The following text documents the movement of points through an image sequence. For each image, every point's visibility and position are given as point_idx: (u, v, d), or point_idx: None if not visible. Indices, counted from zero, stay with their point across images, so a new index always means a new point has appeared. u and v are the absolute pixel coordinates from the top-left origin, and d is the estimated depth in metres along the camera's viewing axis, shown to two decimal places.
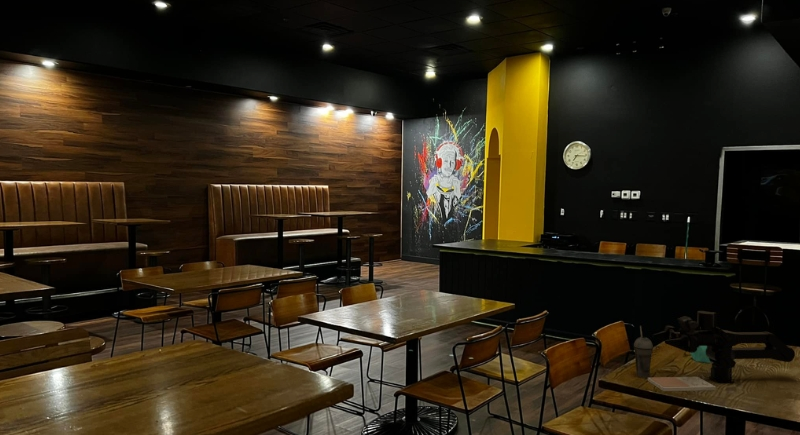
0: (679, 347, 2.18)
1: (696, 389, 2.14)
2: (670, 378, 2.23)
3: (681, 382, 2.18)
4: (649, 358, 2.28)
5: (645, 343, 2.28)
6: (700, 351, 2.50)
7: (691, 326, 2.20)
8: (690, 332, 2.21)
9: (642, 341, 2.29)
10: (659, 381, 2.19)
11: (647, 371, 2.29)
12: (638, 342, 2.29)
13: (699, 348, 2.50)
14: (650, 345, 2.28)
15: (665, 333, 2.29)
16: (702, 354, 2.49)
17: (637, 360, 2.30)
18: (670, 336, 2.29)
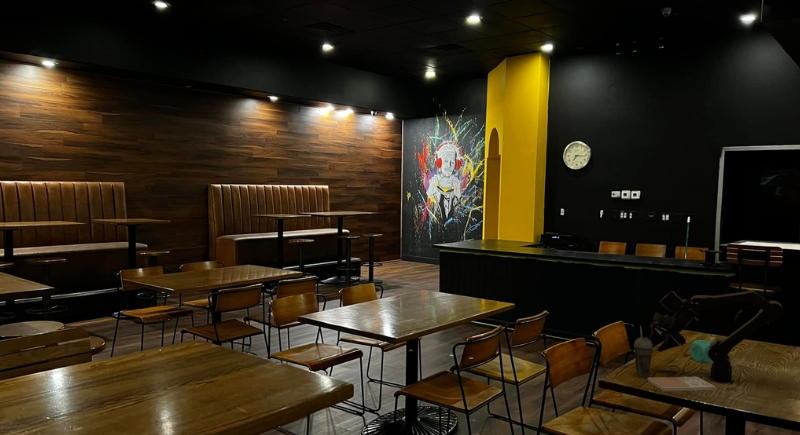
0: (671, 346, 2.25)
1: (696, 389, 2.14)
2: (670, 378, 2.23)
3: (681, 382, 2.18)
4: (649, 358, 2.28)
5: (645, 343, 2.28)
6: (700, 351, 2.50)
7: (666, 321, 2.27)
8: (670, 324, 2.28)
9: (642, 341, 2.29)
10: (659, 381, 2.19)
11: (647, 371, 2.29)
12: (638, 342, 2.29)
13: (699, 348, 2.50)
14: (650, 345, 2.28)
15: (654, 334, 2.36)
16: (702, 354, 2.49)
17: (637, 360, 2.30)
18: (659, 332, 2.37)
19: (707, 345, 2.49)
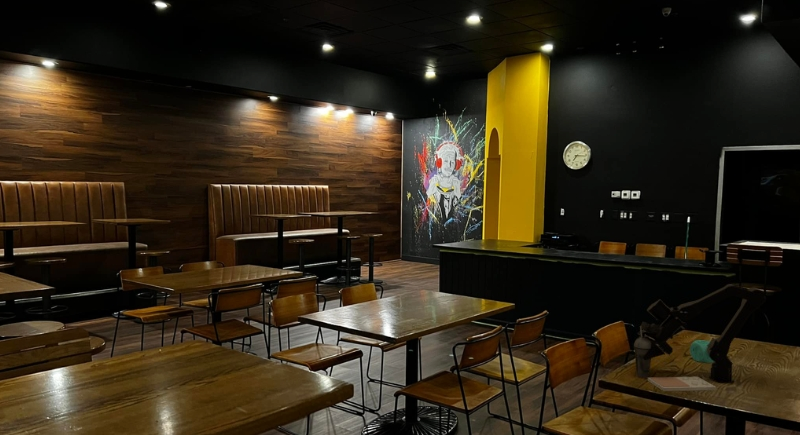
0: (657, 354, 2.26)
1: (696, 389, 2.14)
2: (670, 378, 2.23)
3: (681, 382, 2.18)
4: None
5: (645, 343, 2.28)
6: (700, 351, 2.50)
7: (653, 331, 2.26)
8: (657, 333, 2.28)
9: (642, 341, 2.29)
10: (659, 381, 2.19)
11: (647, 371, 2.29)
12: (638, 342, 2.29)
13: (699, 348, 2.50)
14: (650, 345, 2.28)
15: None
16: (702, 354, 2.49)
17: (637, 360, 2.30)
18: None
19: None
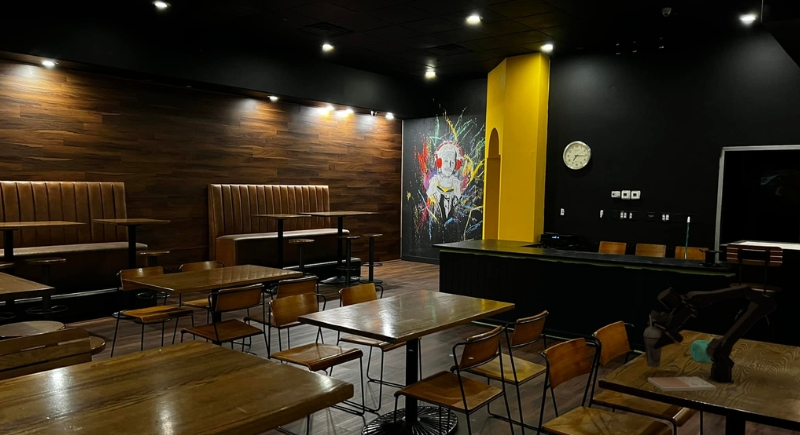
0: (667, 343, 2.21)
1: (696, 389, 2.14)
2: (670, 378, 2.23)
3: (681, 382, 2.18)
4: None
5: (654, 332, 2.23)
6: (700, 351, 2.50)
7: (663, 319, 2.22)
8: (667, 322, 2.24)
9: (652, 330, 2.24)
10: (659, 381, 2.19)
11: (657, 361, 2.24)
12: (648, 331, 2.25)
13: (699, 348, 2.50)
14: (660, 334, 2.24)
15: None
16: (702, 354, 2.49)
17: (647, 350, 2.26)
18: None
19: (707, 345, 2.49)
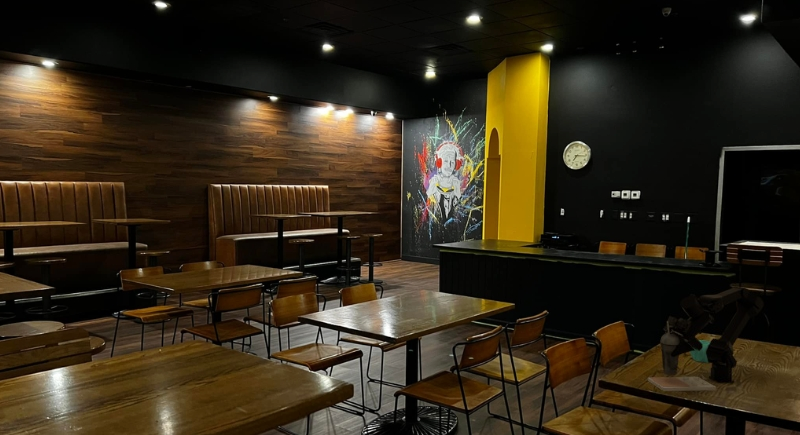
0: (686, 351, 2.14)
1: (696, 389, 2.14)
2: (670, 378, 2.23)
3: (681, 382, 2.18)
4: None
5: (672, 340, 2.16)
6: (700, 351, 2.50)
7: (681, 326, 2.14)
8: (685, 329, 2.16)
9: (669, 337, 2.17)
10: (659, 381, 2.19)
11: (675, 368, 2.17)
12: (665, 338, 2.17)
13: None
14: (678, 341, 2.16)
15: None
16: (702, 354, 2.49)
17: (664, 357, 2.18)
18: None
19: (707, 345, 2.49)
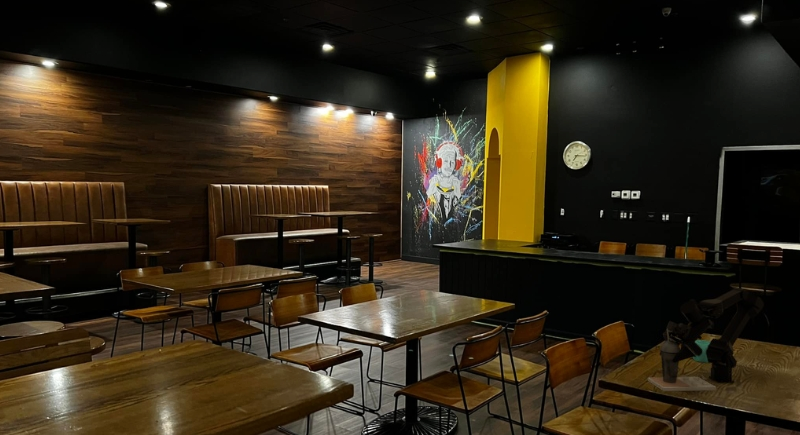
0: (687, 357, 2.13)
1: (696, 389, 2.14)
2: None
3: (681, 382, 2.18)
4: (677, 363, 2.17)
5: (672, 347, 2.16)
6: None
7: (681, 331, 2.14)
8: (685, 334, 2.16)
9: (669, 344, 2.17)
10: (659, 381, 2.19)
11: (674, 376, 2.17)
12: (665, 346, 2.18)
13: None
14: (678, 348, 2.16)
15: None
16: (702, 354, 2.49)
17: (664, 365, 2.18)
18: None
19: (707, 345, 2.49)
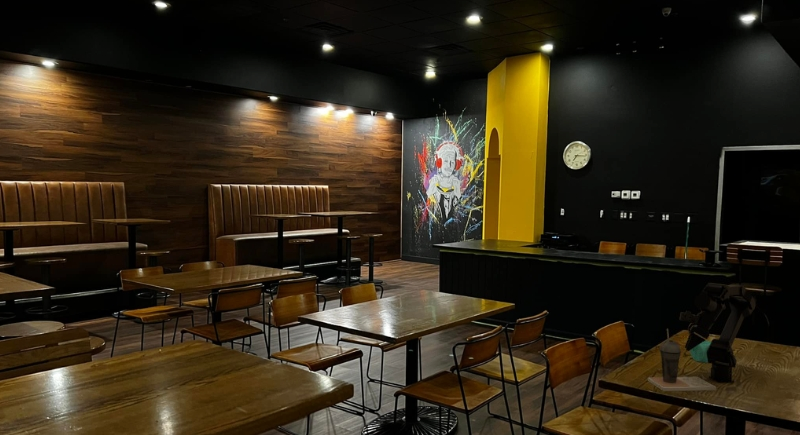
0: (699, 342, 2.14)
1: (696, 389, 2.14)
2: None
3: (681, 382, 2.18)
4: (677, 363, 2.17)
5: (672, 347, 2.16)
6: (700, 351, 2.50)
7: (687, 318, 2.19)
8: (694, 321, 2.19)
9: (669, 344, 2.17)
10: (659, 381, 2.19)
11: (674, 376, 2.17)
12: (665, 346, 2.18)
13: (699, 348, 2.50)
14: (678, 348, 2.16)
15: (691, 335, 2.26)
16: (702, 354, 2.49)
17: (664, 365, 2.19)
18: None
19: (707, 345, 2.49)
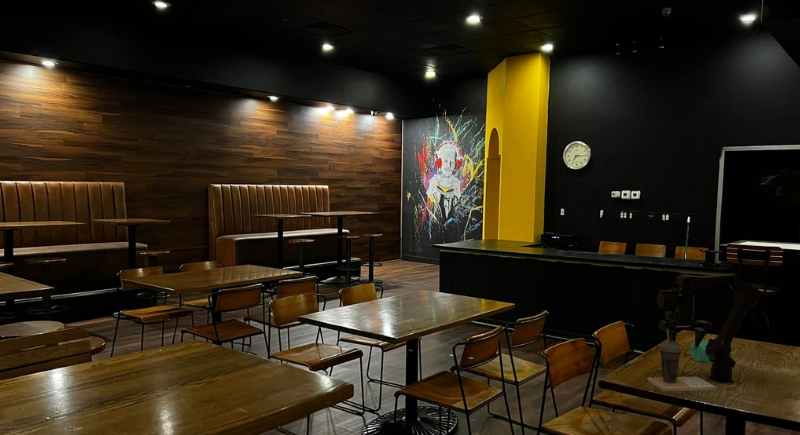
0: (671, 336, 2.22)
1: (696, 389, 2.14)
2: None
3: (681, 382, 2.18)
4: (677, 363, 2.17)
5: (672, 347, 2.16)
6: (700, 351, 2.50)
7: (667, 318, 2.29)
8: (674, 318, 2.27)
9: (669, 344, 2.17)
10: (659, 381, 2.19)
11: (674, 376, 2.17)
12: (665, 346, 2.18)
13: (699, 348, 2.50)
14: (678, 348, 2.16)
15: (696, 333, 2.25)
16: (702, 354, 2.49)
17: (664, 365, 2.19)
18: (699, 328, 2.24)
19: None
